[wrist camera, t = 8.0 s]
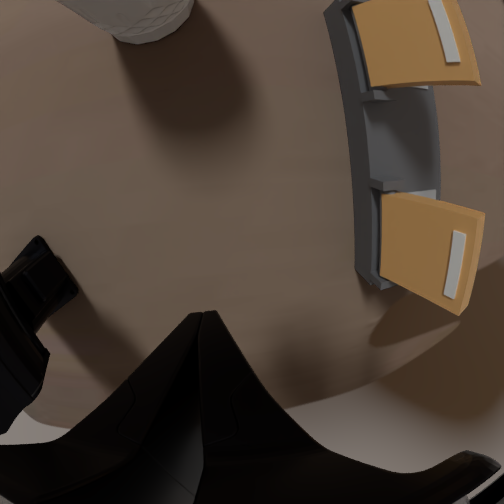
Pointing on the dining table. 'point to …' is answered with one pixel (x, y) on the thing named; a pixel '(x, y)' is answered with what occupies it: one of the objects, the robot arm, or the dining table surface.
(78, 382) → the dining table surface
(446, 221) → the orange flat block
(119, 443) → the robot arm
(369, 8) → the tan flat block
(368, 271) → the power strip
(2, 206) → the dining table surface
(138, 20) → the white cup
